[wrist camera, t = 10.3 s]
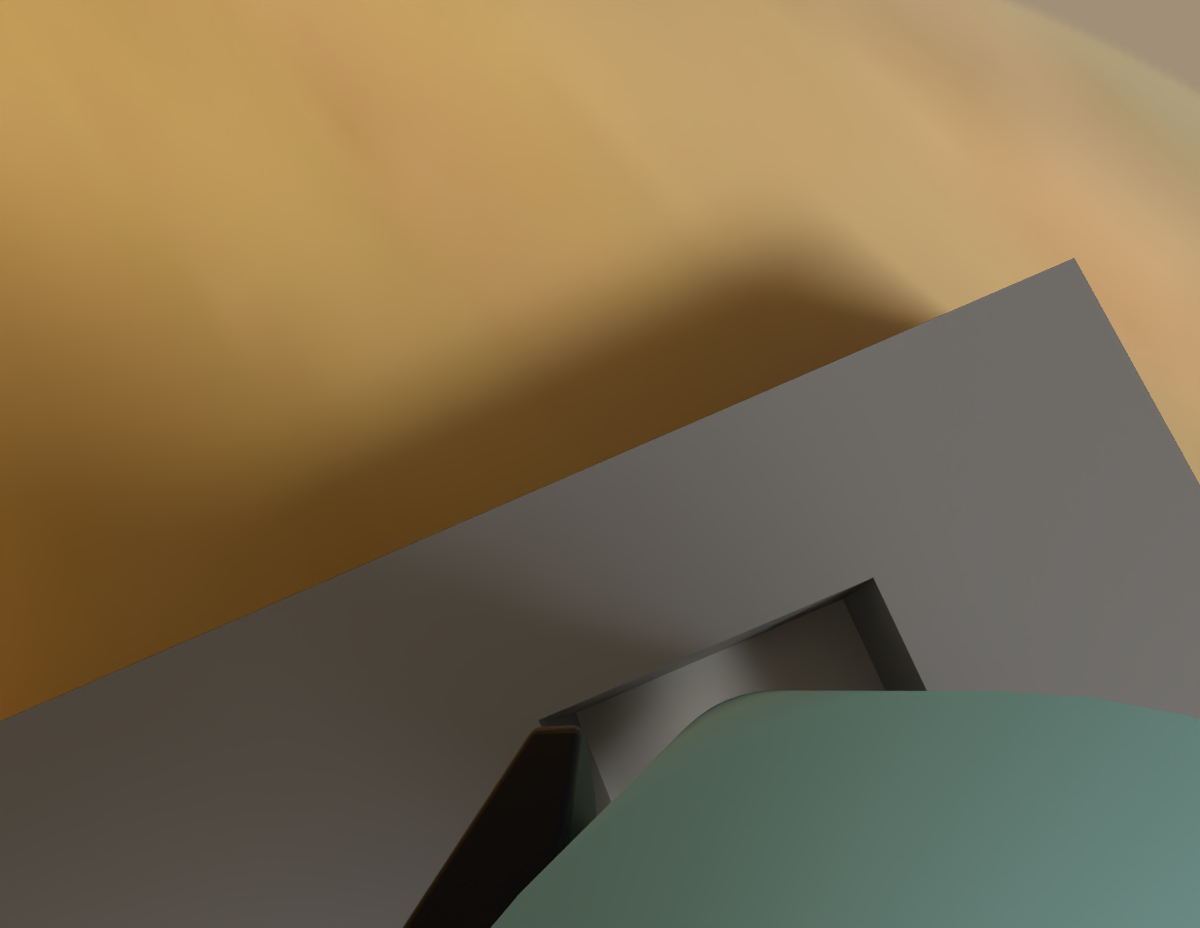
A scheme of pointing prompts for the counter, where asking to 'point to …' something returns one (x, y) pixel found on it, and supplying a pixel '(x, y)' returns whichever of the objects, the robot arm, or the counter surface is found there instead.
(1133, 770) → the peg
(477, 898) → the robot arm
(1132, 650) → the socket block
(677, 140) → the counter surface
